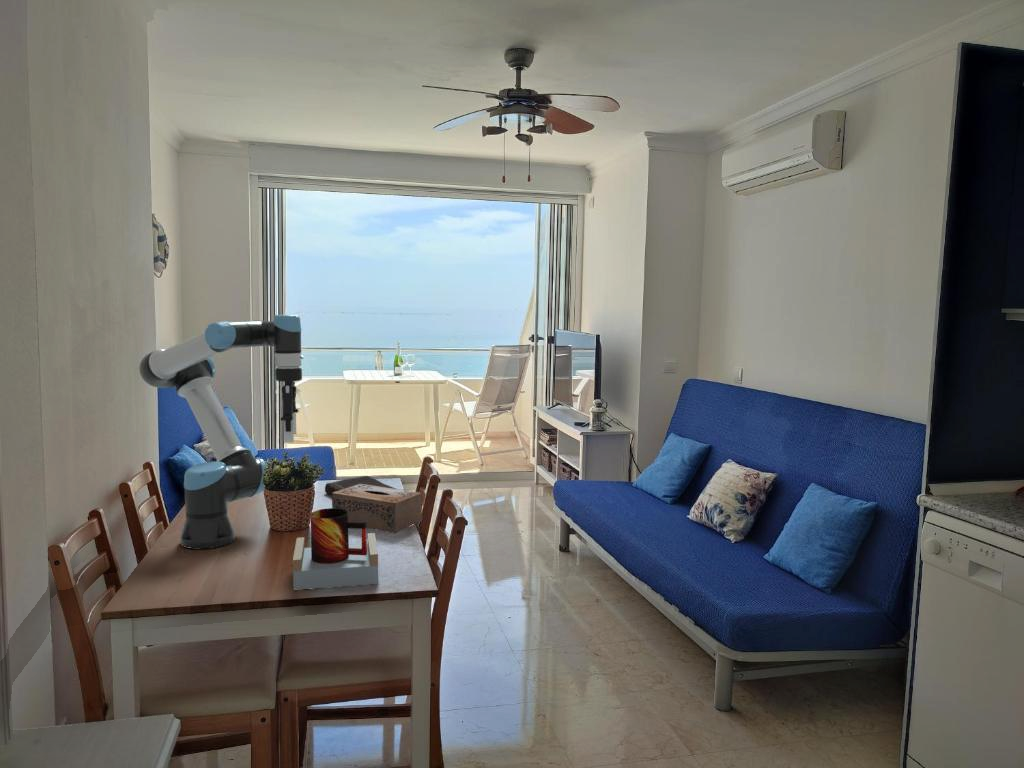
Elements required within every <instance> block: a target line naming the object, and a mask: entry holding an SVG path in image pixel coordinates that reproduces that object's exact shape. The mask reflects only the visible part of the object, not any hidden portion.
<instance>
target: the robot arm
mask: <svg viewBox="0 0 1024 768" xmlns="http://www.w3.org/2000/svg"><path fill="white" fill-rule="evenodd" d="M301 324H302V323H301V318H300V316H299V315H297V314H275V315H274V316H273V321H269V320H249V321H246V320H244V321H223V320H222V321H216V322H211V323H209V324H208V325H207V327H206V328H205V330H204V331H203V332H201V333H198V334H197V335H195V336H192V337H190V338H187V339H186V340H184V341H182V342H179V343H176V344H175V345H173V346H170V347H168V348H166V349H163V348H158V349H156V350H154V351H151V352H149V353H148V354H146V355H145V356H143V358H142V359H141V360H140V362H139V367H138V368H139V369H138V370H139V374H140V376H141V379H142V380H143V381H144V382H145V383H146V384H148V385H149V386H150V387H151V386H152V387H154V388H160V389H166V388H167V389H168V388H174V389H175V391H176V393H177V396H179V397H181V398H184V399H185V400H186V401H187V404H188V405H189V408H190V409H191V412H192V413H193V415H194V417H195V420H196V421H197V423H198V425H199V426H200V427H199V428H200V429H201V431H202V433H203V435H204V437H205V438H206V441H207V442H208V443H207V444H208V445H209V447H210V448H211V451H212V453H213V455H214V456H215V459H216V461H208V462H201V463H198V464H195V465H193V466H191V467H189V468H188V469H186V471H185V472H184V477H183V479H184V481H183V488H184V503H185V504H184V505H185V507H184V508H185V520H184V523H183V526H182V530H181V534H180V537H179V541H180V542H179V544H180V543H181V544H182V545H183V546H186V547H191V548H210V549H212V548H211V547H216V548H218V547H217V546H221V547H223V546H222V545H224V546H226V545H225V544H227V545H229V544H232V543H233V542H234V541H235V539H234V538H235V530H234V528H233V525H232V522H231V520H230V517H229V514H228V503H232V502H234V501H238V500H243V499H246V498H251V497H252V498H253V497H254V496H256V495H259V494H261V493H263V492H264V491H265V489H264V484H263V474H264V472H265V470H264V469H265V467H268V465H267V463H266V461H265V460H264V459H263V458H260V457H258V456H256V457H254V455H253V453H252V451H251V450H250V449H249V448H245V447H243V445H242V443H241V441H240V439H239V437H238V435H237V433H236V431H235V430H234V429H235V428H233V425H232V423H231V422H230V419H229V417H228V416H227V414H226V412H225V410H224V408H223V406H222V405H221V403H220V400H219V399H218V397H217V395H216V393H215V391H214V388H213V387H212V386H213V384H214V382H215V381H214V378H215V375H216V374H215V373H216V370H215V368H216V367H215V363H214V361H213V359H212V358H213V357H215V356H218V355H219V354H222V353H224V352H226V351H229V350H231V349H236V348H237V349H238V348H251V347H252V348H254V347H255V348H257V347H274V367H276V368H275V370H274V371H275V373H274V375H275V378H274V379H275V380H276V381H277V382H284V384H283V385H282V387H281V394H282V395H281V396H282V397H281V399H282V417H280V421H283V423H282V424H283V429H282V430H283V444H284V443H285V444H287V443H295V440H294V438H295V437H294V435H297V413H299V408H297V406H296V398H297V386H296V385H295V384H296V382H300V381H302V379H303V372H302V371H303V369H302V368H301V366H302V360H303V359H304V355H302V325H301ZM233 540H234V541H233ZM232 541H233V542H232ZM228 543H229V544H228Z"/></svg>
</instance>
